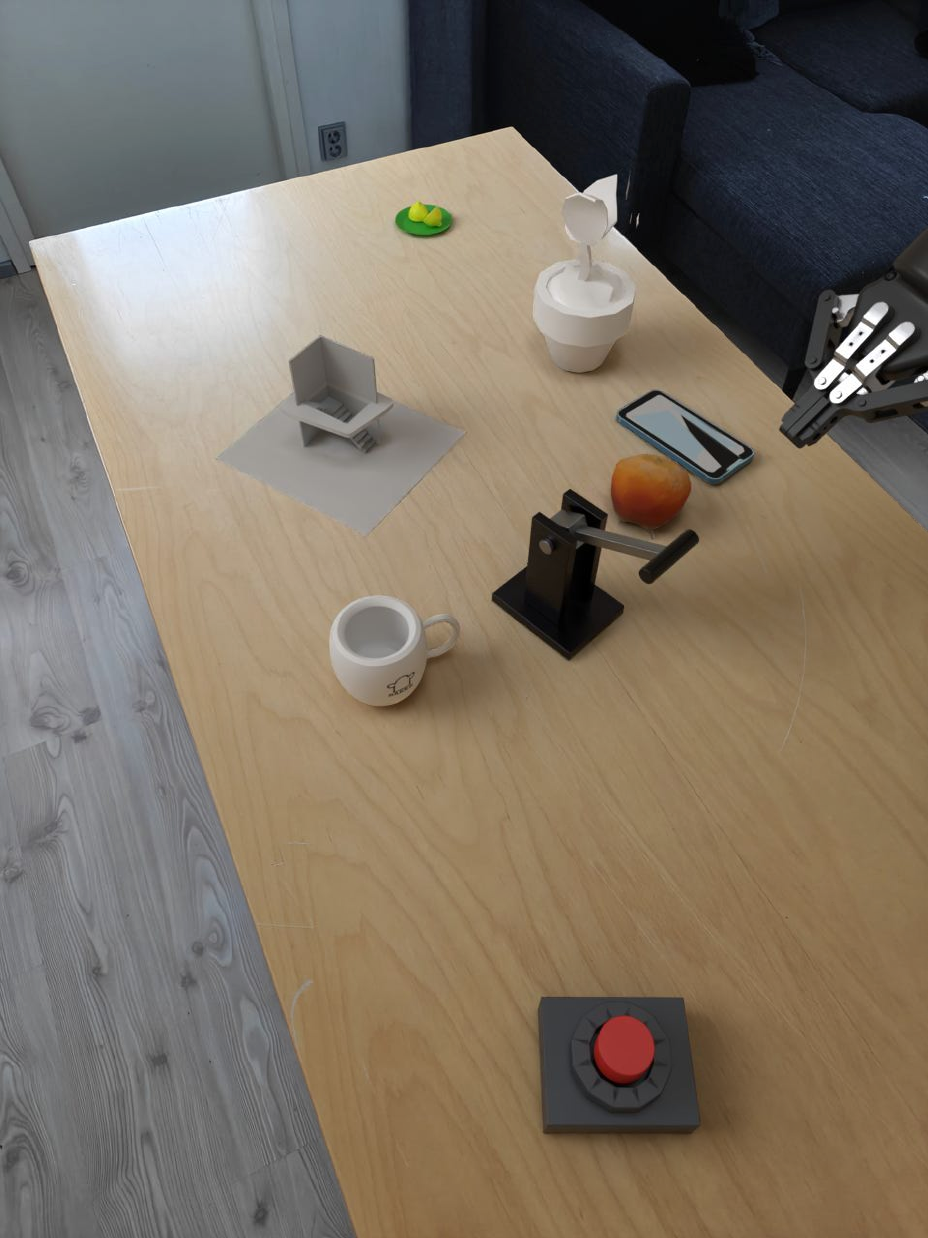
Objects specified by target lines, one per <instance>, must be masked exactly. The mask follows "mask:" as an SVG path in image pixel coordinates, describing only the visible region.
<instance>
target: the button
mask: <svg viewBox="0 0 928 1238" xmlns="http://www.w3.org/2000/svg"><path fill="white" fill-rule="evenodd" d="M654 1054H655V1045H654V1040H653V1037H652V1034H651V1033H650V1031H649V1029H648V1028H647V1027H646V1026H645V1025H644V1024H643V1023H642V1022H641V1021H639V1020H638V1019H636V1018H634V1017H631V1016H617V1017H614V1018H612V1019H610V1020H609V1021H607V1022H606V1023H605V1025H604V1026H603V1027H602V1029H601V1031H600V1033H599V1035H598V1037H597V1039H596V1042H595V1045H594V1057H595V1061H596V1064H597V1066H598V1068H599V1069H600V1071H601V1072H602V1073H603V1075H605V1076H606V1077H607V1078H608V1079H610V1080H612V1081H614V1082H616V1083H621V1084H627V1083H632V1082H634V1081H636V1080H638V1079H639V1078H640V1077H641V1076H642V1075H643V1074H644V1073H645V1071H646V1070H647V1069H648V1067H649V1066H650V1064H651V1063H652V1061H653V1058H654Z"/></svg>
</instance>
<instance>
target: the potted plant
mask: <svg viewBox="0 0 928 1238" xmlns="http://www.w3.org/2000/svg"><path fill="white" fill-rule="evenodd" d="M629 172H631V169H630V171H629ZM630 177H631V175H629V177H628V180H630ZM617 187H618V174H617V173H616V174H613V175H610V176H607V177H604V178H600V179H597V180H596V181H595V182H593V183H591V185H589V186H588V187H586V188H585V189H584V190H583V192H580V191H579V192H576V193H574V194H571V195H569V196H566V197H565V198H564V201H563V203H562V206H561V207H562V208H561V211H560V212H561V215H562V217H563V221H564V223H565V226H564V229H565V232H566V234H567V235H568V238H569V240H570V241H572V242H576V243H578V258H577V259H570V260H569V259H568V260H563V261H556V262H555V263H553V264H552V265H550V266H548V267H547V268H545V269H543V270H542V271H540V272H539V275H538V277H537V279H536V283H535V286H534V293H533V304H532V318H533V320H534V323H535V324H536V326H537V328H538V330H539V332H540V333H542V334H543V337H544V340H545V343H546V348H547V350H548V354H549V357H550V359H551V361H552V363H553V364H554V365H555V366H557V367H558V368H560V369H562V370H563V371H567V372H573V373H579V374H581V373H586V372H592V371H595V370H596V369H597V368H598V367H600V366H602V365H603V363H604V361H605V360H606V358H607V357H608V354H609V353H610V351H611V350H612V347H613V346H614V345H615V342H616V341H617V340H618V339H619V338H621V337H623V336H624V335H625V334H627V333H628V331H629V328H630V325H631V324H630V323H631V320H632V316H633V310H634V304H635V297H636V295H637V294H636V292H637V286H636V285H635V284H636V283H634V281H633V280H632V278H631V277H630V275H629V273H628V272H626V271H624V270H623V269H620V268H618V267H616V266H614V265H613V264H611V263H609V262H608V261H607V262H606V261H599V260H593V259H592V250H591V247H593V248H595V247H596V246H597V245H598V244H599V243H600V242H601V241H602V240H603V239H604V238H605V237H606V236H607V235H608V233H609V232H610V231H611V230H612V228H613V227H614V226H615V225H616V224H617V222H618V202H617V189H618V188H617ZM629 187H630V181H628V183H627V188H626V191H625V195H626V196H625V199H628V192H629ZM639 216H640V214H638V215H637V217H636V225H639ZM632 217H633V216H632V214H631V215H630V218H632ZM631 221H632V219H630V220H629V223H632V222H631ZM637 227H638V226H636V228H635V229H637Z"/></svg>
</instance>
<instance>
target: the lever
mask: <svg viewBox="0 0 928 1238" xmlns="http://www.w3.org/2000/svg"><path fill="white" fill-rule="evenodd" d="M549 519H551V520H552V521H554V522H555V523H557V524H558V525H559V526H561V527H562V528H564V529H565V530H566V531H568V532H569V533H571V534H572V535H574V536H575V537H576V538H578V540H577V547H576V549H577V548H578V547H580V546H581V545H582V544H583V543H587V544H591V545H595V546H598V547H602V549H606V550H610V551H614V552H616V553H617V552H618V553H620V554H624V555H628V556H632V557H635V558H638V559H643V560H646V561H648V562H646V564H644V565H643V566H641V568H640V569H639V570H638V577H639V579H640V581H642V583H644V584H646V585H652V584H654V583H655V582H656V581H658V579H659V578H661V576H663V575H664V574H665V573H666V572H667V571H668V570H669V569H671V568H672V567H673V566H674V565H675V564H676V563H678V562H679V561H680V560H681V559H682V558H684V557H685V555H687V554H688V553H689V552H690V551H691V550H692V549H694V548H695V547H696V546H697V545H698V544H699V542H700V537H699V534H698V533H697V531H695V530H693V529H690V528H689V529H685V530H684V531H683V532H682V533H681V534H679V535H678V536H677V537H675V539H673V541H671V542H670V543H669V544H668V545H663V544H659V543H655V542H652V541H648V540H643V539H640V538H635V537H631V536H629V535H624V534H620V533H616V532H611V531H608V530H605V531H604V530H601V529H597V528H593V527H589V526H588V525H587V521H586V518H585V515H583V514H579V513H575V512H571V511H567V510H563V509H562V510H561V509H560V510H559V511H558V512H556V513H555V514H553V515H552V516H551V517H550V518H549Z"/></svg>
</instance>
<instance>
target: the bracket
mask: <svg viewBox="0 0 928 1238" xmlns="http://www.w3.org/2000/svg"><path fill="white" fill-rule="evenodd" d="M562 509H563V510H567V511H571V512H575V513H579V514H583V515H585V518H586V521H587V525H588V526H589V527H593V528H597V529H601V530H604V531H606V527H607V523H608V516H609V513H607V512H606V511H604V510H603V509H601V508H600V507H598V506H597V505H595V504H594V503H593V502H591V501H589V500H588V499H586V497H583V496H582V495H581V494H579V493H578V492H576V491H574V490H573V489H572V488H569V489H567V490H566V491H565V492H563V494H562V499H561V506H560V510H562ZM577 540H578V538H576V537H575V536H574V535H572V534H571V533H569V532H568V531H566V530H565V529H564V528H562V527H561V526H559V525H558V524H557V523H555V522H554V521H552V520H551V519H550V518H549V517H548V516H546V515H545V514H543V513H542V511H538V512H537V513H535V514H534V515H533V516H532V517H531V523H530V534H529V544H528V555H527V564H526V566H525V567H523V568H522V569H521V570H520V571H519V572H516V574H514V576H512V577H511V578H509V579H508V580H507V581H506V582H504V583H503V584H502V585H501V586H499V587H498V588H497V589H495V590H494V591H493V592H491V602H492V603H494V604H495V605H496V606H497V607H499V608H501V609H502V610H503V611H504V612H505V613H506V614H508V615H509V616H511V618H513V619H514V620H515V621H517V622H518V623H519V624H520V625H522V626H523V627H525V628H526V629H527V630H529V631H530V632H531V633H532V634H534V635H535V636H536V637H537V638H539V639H540V640H541V641H542V642H544V643H545V644H546V645H548V646H549V648H552V649H553V650H554V651H556V652H557V654H559V655H561V656H562V657H563V658H564V659H566V660H567V661H570V660H572V659H573V658H574V657H575V656H576V655H578V653H579V652H581V651H582V650H583V649H584V648H585V647H586V646H588V644H590V643H591V642H592V641H594V639H596V638H597V637H598V636H599V635H600V634H601V633H602V632H603V631H605V630H606V629H607V628H608V627H609V626H611V625H612V624H613V623H614V622H616V620H617V619H618V618H619V617H620V616H622V615H623V614H624V611H625V606H626V605H624V603H622V602H620V601H619V600H618V599H616V598H615V597H614V596H612V595H611V594H609V593H608V592H606V591H605V590H604V589H603V588H601V587H599V586H598V585H597V584H596V580H597V574H598V571H599V570H598V569H599V565H600V561H601V559H600V558H601V554H602V549H603V548H602V547H598V546H595V545H591V544H587V543H583V544H582V545H581V546H580V547H578V548H577V549H576V547H577Z"/></svg>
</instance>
